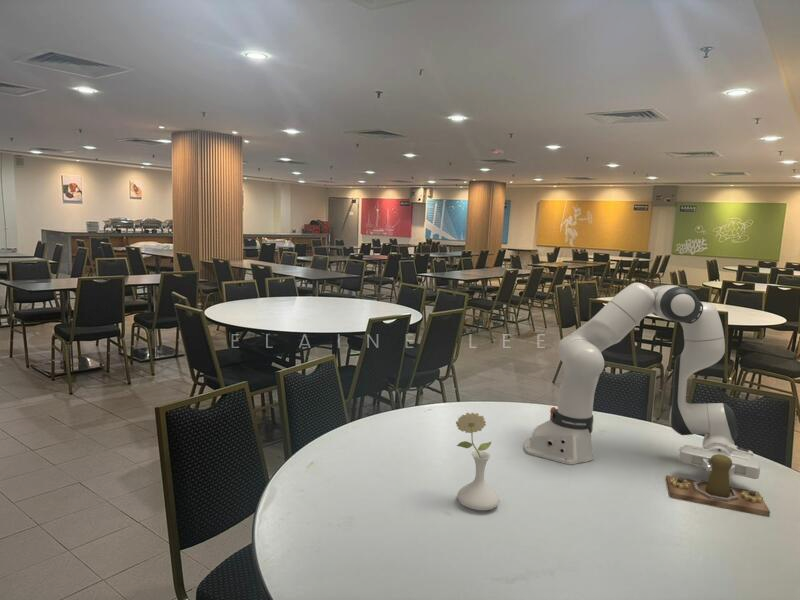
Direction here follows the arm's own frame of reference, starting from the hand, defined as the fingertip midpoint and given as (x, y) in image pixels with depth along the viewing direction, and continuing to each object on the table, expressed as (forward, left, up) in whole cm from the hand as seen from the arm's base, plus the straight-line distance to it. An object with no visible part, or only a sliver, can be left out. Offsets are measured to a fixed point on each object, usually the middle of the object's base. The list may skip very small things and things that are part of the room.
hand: (718, 471), depth 152 cm
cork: (+1, +1, -7) cm, 7 cm away
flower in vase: (-62, -32, -8) cm, 70 cm away
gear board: (0, +1, -8) cm, 8 cm away
